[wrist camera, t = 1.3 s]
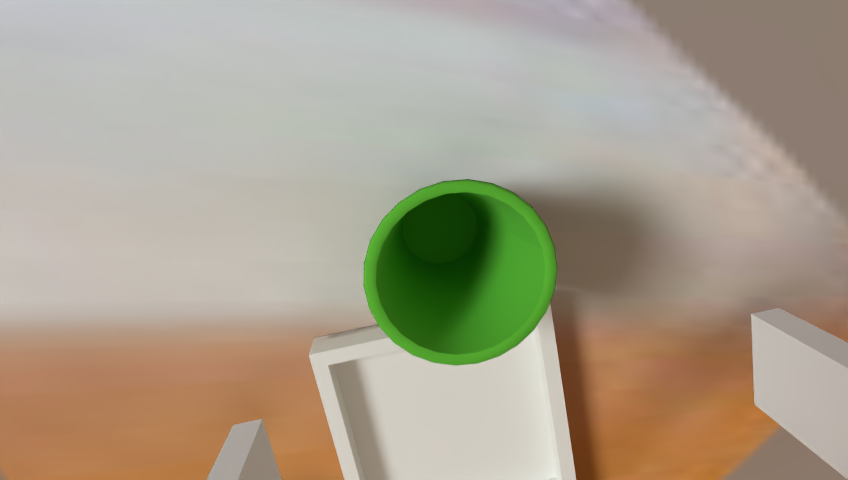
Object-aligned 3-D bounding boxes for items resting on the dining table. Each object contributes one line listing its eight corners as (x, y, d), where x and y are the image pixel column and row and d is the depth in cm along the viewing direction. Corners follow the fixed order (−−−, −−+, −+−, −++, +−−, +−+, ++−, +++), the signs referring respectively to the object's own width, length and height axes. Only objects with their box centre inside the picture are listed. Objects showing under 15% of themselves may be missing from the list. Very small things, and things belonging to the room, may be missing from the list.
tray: (314, 338, 36) (308, 354, 33) (539, 289, 36) (550, 302, 33) (366, 524, 40) (365, 551, 37) (568, 479, 40) (579, 503, 38)
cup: (351, 183, 33) (334, 218, 23) (484, 138, 33) (530, 153, 22) (396, 306, 36) (399, 391, 25) (521, 265, 35) (578, 332, 25)
